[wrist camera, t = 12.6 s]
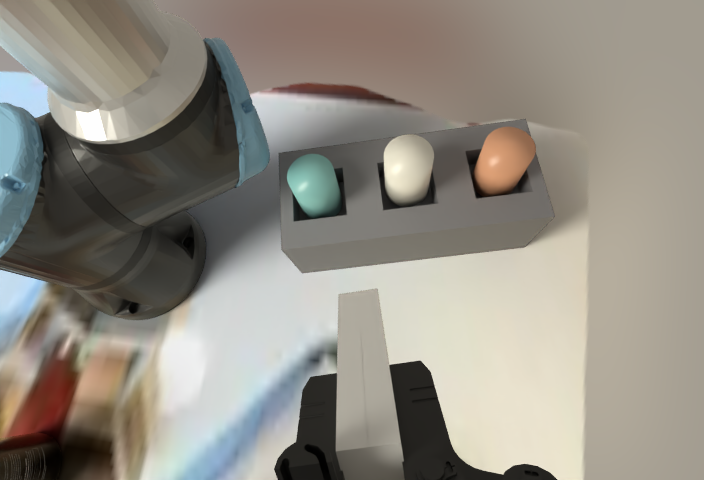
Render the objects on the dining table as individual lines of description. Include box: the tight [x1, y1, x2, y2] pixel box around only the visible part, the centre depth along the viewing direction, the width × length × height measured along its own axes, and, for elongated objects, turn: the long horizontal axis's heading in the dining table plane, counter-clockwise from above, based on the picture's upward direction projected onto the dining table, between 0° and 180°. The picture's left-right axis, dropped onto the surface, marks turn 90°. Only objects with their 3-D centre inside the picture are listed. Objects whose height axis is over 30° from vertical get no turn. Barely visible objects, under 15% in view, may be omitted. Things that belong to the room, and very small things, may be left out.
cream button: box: [384, 134, 434, 207], centre depth 37 cm, size 4×4×6 cm
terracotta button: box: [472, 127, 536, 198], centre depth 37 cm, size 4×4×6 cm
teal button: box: [287, 154, 342, 219], centre depth 38 cm, size 4×4×6 cm
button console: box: [279, 119, 555, 273], centre depth 43 cm, size 26×11×9 cm, turn 95°
